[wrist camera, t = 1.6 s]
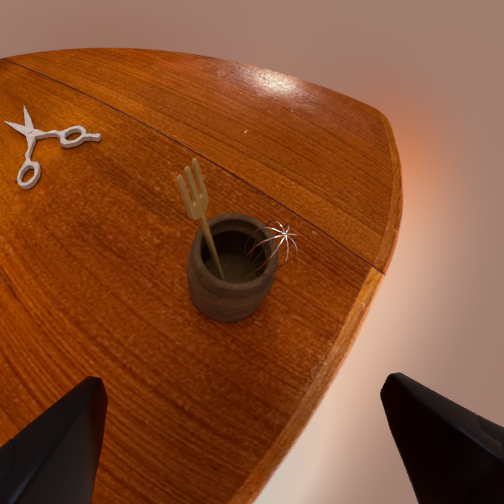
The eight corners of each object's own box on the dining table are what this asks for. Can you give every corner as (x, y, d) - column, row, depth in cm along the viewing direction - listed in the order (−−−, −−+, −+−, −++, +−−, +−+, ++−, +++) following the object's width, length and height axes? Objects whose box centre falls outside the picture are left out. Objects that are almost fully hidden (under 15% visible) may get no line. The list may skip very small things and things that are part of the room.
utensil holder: (242, 338, 21) (284, 289, 11) (171, 297, 22) (145, 213, 11) (275, 275, 24) (332, 185, 13) (209, 240, 25) (218, 131, 14)
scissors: (27, 196, 22) (-14, 132, 25) (30, 200, 23) (-12, 136, 26) (101, 134, 27) (39, 91, 30) (102, 139, 28) (40, 94, 30)
